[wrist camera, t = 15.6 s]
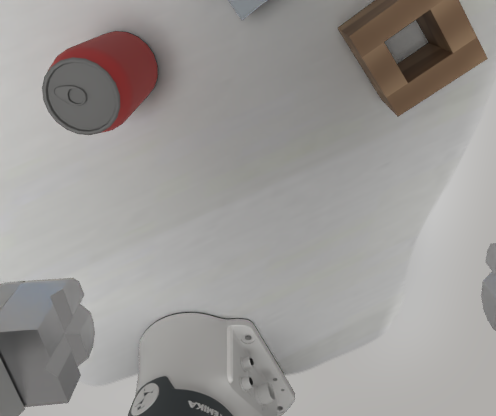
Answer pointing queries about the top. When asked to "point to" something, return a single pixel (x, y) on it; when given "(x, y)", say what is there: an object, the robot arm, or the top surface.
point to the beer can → (99, 82)
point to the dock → (245, 6)
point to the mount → (423, 60)
